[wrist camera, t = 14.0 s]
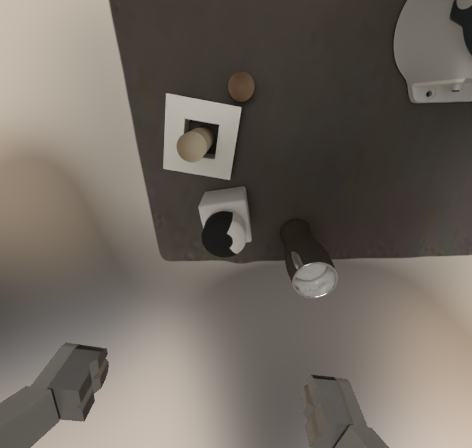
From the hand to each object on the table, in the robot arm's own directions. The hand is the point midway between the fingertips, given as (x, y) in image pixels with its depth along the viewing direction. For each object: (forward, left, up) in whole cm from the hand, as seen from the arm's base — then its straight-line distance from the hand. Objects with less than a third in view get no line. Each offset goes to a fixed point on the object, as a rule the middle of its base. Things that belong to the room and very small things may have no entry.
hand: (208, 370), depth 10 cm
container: (0, +8, -37) cm, 38 cm away
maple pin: (+6, -4, -37) cm, 38 cm away
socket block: (+6, -4, -37) cm, 38 cm away
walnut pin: (+1, -12, -37) cm, 39 cm away
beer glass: (-14, +11, -37) cm, 41 cm away
